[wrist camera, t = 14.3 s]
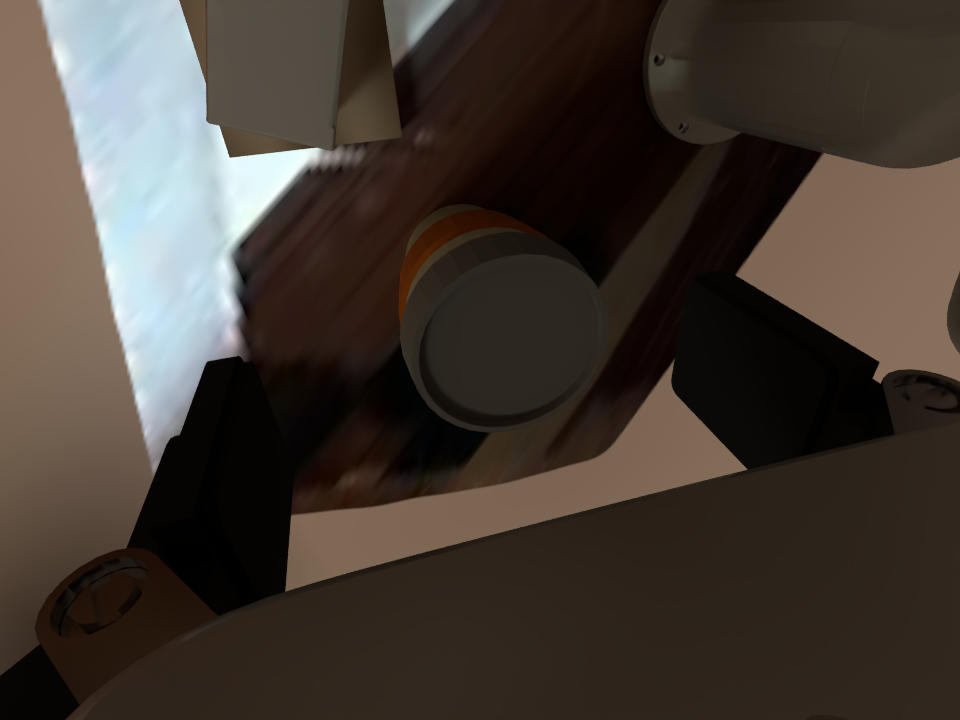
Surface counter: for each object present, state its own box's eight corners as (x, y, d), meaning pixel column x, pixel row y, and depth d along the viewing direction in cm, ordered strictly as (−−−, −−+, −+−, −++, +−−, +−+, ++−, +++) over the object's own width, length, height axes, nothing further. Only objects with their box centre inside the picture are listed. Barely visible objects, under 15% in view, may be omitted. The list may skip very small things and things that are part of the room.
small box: (240, -66, 27) (201, -110, 19) (348, -30, 29) (358, -54, 21) (237, 98, 31) (202, 124, 22) (332, 121, 33) (334, 153, 24)
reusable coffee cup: (437, 351, 46) (476, 466, 34) (349, 240, 39) (358, 336, 27) (555, 273, 45) (640, 364, 33) (487, 145, 38) (563, 200, 26)
